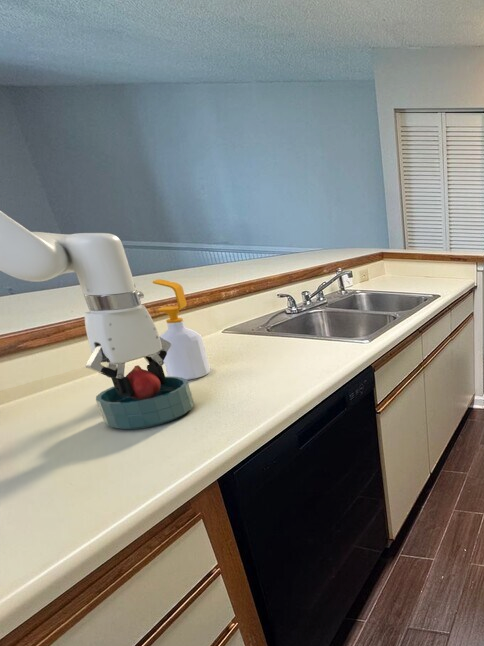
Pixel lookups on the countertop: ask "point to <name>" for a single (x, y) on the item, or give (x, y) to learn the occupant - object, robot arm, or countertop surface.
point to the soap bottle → (182, 341)
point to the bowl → (146, 406)
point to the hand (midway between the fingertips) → (143, 388)
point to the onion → (143, 383)
